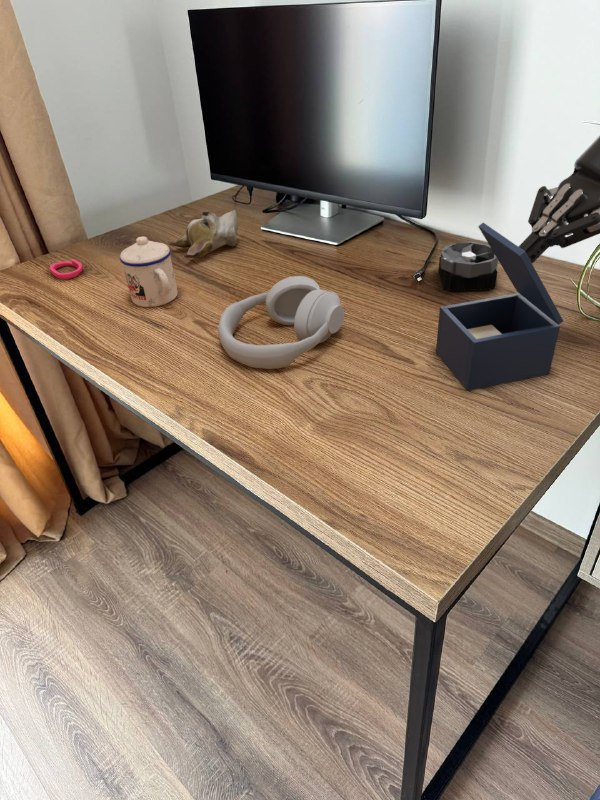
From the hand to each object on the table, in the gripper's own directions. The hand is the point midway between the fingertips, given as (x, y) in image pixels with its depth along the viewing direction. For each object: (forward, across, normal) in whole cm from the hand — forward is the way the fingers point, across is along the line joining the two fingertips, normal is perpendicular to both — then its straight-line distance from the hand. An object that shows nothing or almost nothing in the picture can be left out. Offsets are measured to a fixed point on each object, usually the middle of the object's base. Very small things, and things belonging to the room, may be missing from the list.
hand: (518, 261), depth 77 cm
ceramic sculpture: (+37, +59, +15) cm, 71 cm away
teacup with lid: (+46, +39, +24) cm, 65 cm away
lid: (+1, 0, -2) cm, 2 cm away
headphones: (+32, +17, +10) cm, 38 cm away
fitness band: (+58, +59, +36) cm, 91 cm away
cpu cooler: (+6, +26, -16) cm, 31 cm away
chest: (+12, 0, -10) cm, 16 cm away
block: (+13, 0, -8) cm, 15 cm away
